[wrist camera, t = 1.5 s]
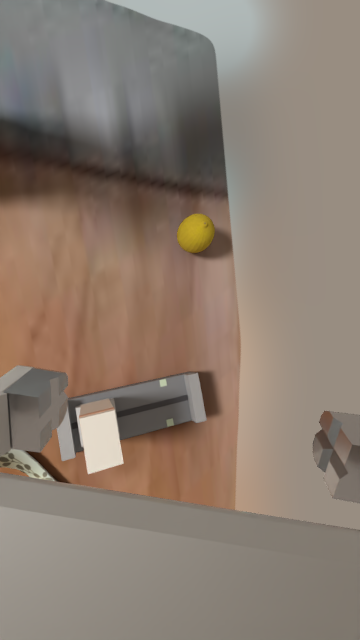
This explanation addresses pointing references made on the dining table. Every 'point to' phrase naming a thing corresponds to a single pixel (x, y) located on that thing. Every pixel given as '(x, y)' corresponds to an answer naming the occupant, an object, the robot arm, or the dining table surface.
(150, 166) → the dining table surface
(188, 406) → the slider track
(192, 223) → the lemon
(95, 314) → the dining table surface
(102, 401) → the slider knob
